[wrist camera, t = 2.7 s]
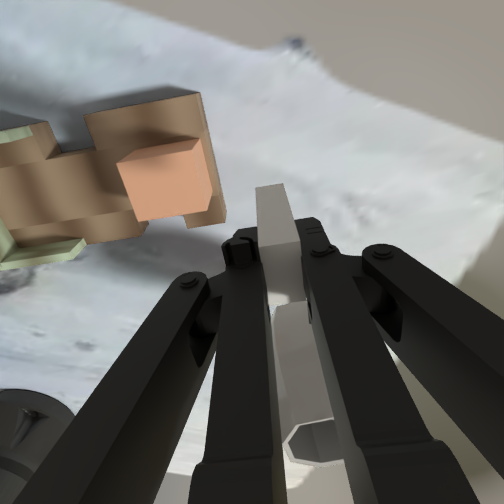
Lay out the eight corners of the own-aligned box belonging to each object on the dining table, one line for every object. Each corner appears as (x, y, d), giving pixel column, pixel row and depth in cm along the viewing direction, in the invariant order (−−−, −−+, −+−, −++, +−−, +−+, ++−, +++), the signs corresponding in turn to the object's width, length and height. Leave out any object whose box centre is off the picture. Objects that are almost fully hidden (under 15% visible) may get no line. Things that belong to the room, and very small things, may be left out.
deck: (32, 242, 36) (-3, 271, 31) (-30, 135, 30) (-87, 148, 25) (226, 211, 35) (223, 235, 30) (200, 92, 29) (190, 96, 24)
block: (153, 201, 31) (138, 221, 27) (135, 149, 28) (115, 163, 24) (212, 191, 31) (207, 210, 26) (200, 138, 28) (191, 149, 24)
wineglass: (319, 298, 41) (377, 477, 23) (252, 298, 41) (258, 478, 23) (328, 239, 37) (409, 402, 19) (254, 238, 37) (262, 402, 18)
